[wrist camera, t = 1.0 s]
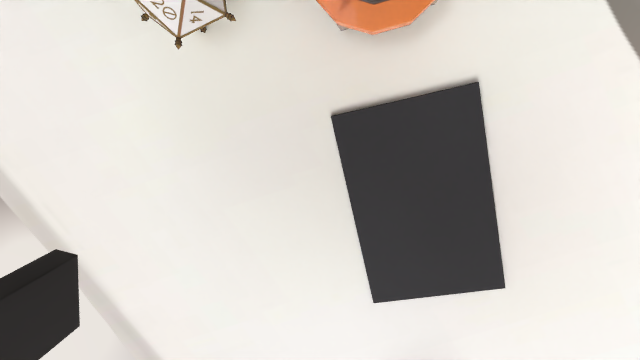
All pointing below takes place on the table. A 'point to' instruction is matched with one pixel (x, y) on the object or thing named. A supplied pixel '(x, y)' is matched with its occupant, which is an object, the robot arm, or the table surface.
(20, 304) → the robot arm
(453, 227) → the mat
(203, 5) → the game die
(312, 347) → the table surface
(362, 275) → the table surface
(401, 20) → the ring
